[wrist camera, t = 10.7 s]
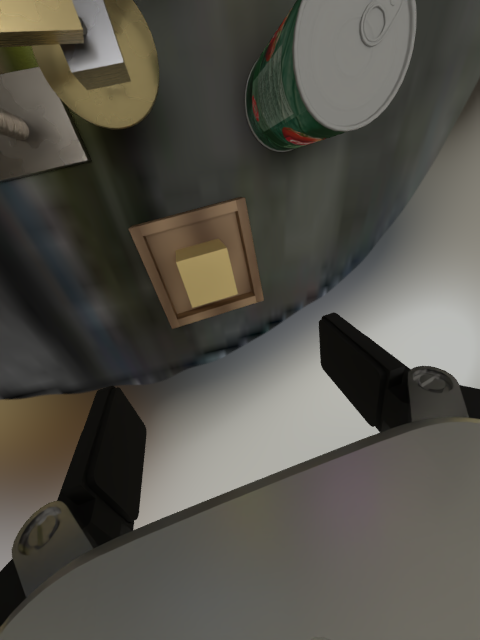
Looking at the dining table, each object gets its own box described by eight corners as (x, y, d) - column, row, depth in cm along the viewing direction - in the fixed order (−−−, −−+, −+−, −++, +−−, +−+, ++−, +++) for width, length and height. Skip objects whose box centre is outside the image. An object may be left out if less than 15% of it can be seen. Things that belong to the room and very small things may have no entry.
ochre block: (175, 250, 27) (176, 262, 23) (218, 238, 28) (226, 247, 23) (189, 290, 30) (192, 307, 25) (228, 279, 30) (238, 294, 26)
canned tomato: (280, 170, 26) (340, 160, 17) (227, 101, 23) (266, 40, 13) (335, 104, 25) (435, 52, 15) (287, 17, 21) (381, -121, 11)
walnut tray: (172, 321, 32) (172, 328, 30) (131, 226, 25) (128, 228, 24) (259, 294, 33) (263, 300, 31) (240, 197, 27) (244, 197, 25)
